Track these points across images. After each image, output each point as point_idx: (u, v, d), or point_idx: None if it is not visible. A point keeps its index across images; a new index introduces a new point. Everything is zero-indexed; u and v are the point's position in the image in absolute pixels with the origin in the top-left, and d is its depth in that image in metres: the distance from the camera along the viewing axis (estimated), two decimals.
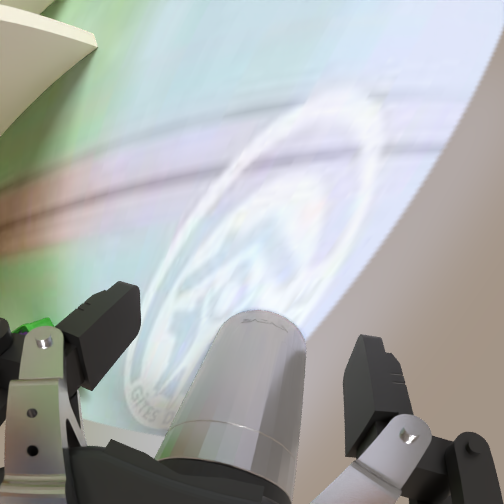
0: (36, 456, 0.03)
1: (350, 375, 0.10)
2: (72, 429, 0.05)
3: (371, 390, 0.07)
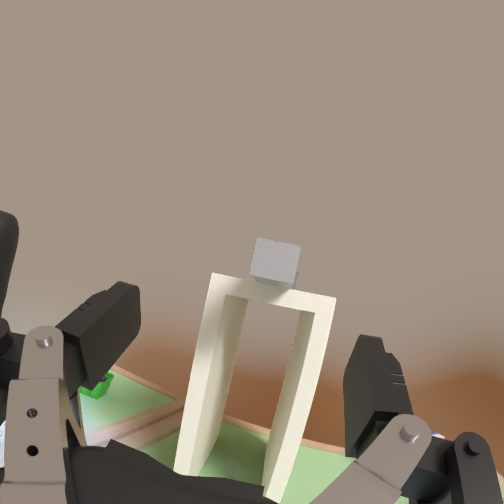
0: (36, 456, 0.03)
1: (350, 375, 0.10)
2: (72, 429, 0.05)
3: (371, 389, 0.07)
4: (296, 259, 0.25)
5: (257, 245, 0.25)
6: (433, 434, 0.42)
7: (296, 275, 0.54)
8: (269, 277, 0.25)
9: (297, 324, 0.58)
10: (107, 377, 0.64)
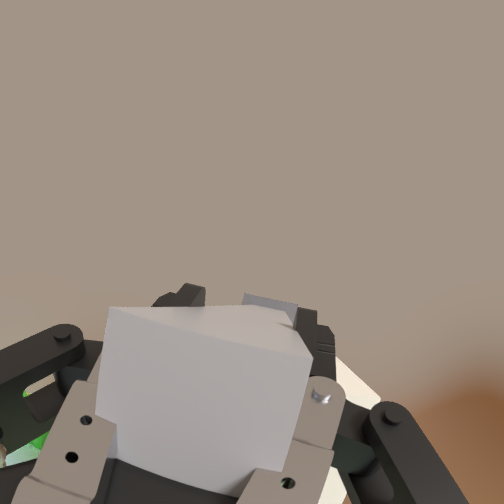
0: (73, 464, 0.04)
1: None
2: None
3: None
4: (288, 419, 0.05)
5: (110, 342, 0.05)
6: None
7: (294, 309, 0.34)
8: (167, 476, 0.05)
9: None
10: None
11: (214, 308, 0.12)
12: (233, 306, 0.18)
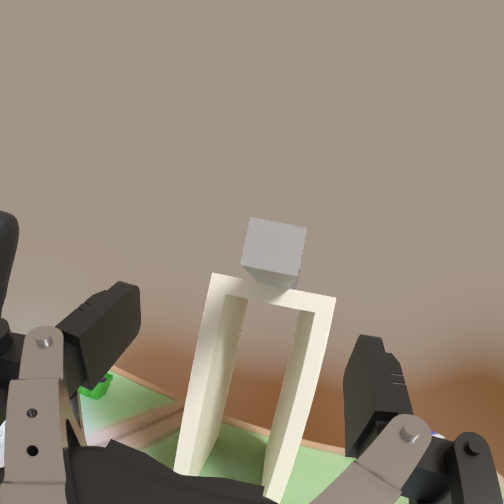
0: (36, 456, 0.03)
1: (350, 375, 0.10)
2: (72, 429, 0.05)
3: (371, 390, 0.07)
4: (301, 244, 0.19)
5: (250, 227, 0.20)
6: (433, 434, 0.42)
7: (297, 272, 0.49)
8: (266, 268, 0.19)
9: (297, 325, 0.58)
10: (107, 378, 0.64)
11: None
12: None
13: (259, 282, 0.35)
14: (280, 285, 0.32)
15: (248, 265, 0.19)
